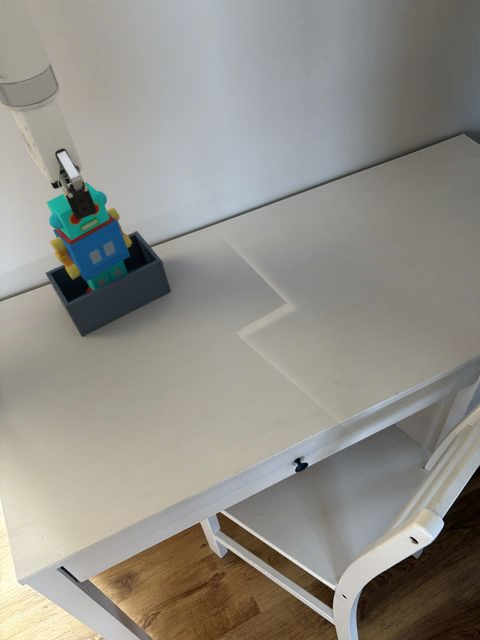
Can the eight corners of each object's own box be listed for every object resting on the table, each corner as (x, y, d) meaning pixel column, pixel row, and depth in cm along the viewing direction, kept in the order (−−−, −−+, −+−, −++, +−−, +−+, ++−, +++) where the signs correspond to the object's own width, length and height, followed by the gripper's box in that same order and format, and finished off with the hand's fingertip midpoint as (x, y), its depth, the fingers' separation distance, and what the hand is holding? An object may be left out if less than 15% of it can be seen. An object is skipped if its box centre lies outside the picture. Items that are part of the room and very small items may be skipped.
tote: (81, 336, 92) (65, 307, 86) (61, 303, 97) (45, 272, 91) (171, 291, 97) (161, 260, 91) (147, 261, 102) (136, 230, 96)
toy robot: (95, 320, 93) (37, 201, 73) (79, 302, 96) (18, 183, 76) (150, 286, 97) (109, 165, 77) (132, 270, 100) (88, 149, 80)
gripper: (-23, 69, 70) (32, 182, 84) (17, 123, 61) (71, 240, 74) (32, 51, 72) (76, 164, 86) (79, 100, 63) (121, 218, 76)
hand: (74, 199), depth 80 cm, fingers open, 9 cm apart
